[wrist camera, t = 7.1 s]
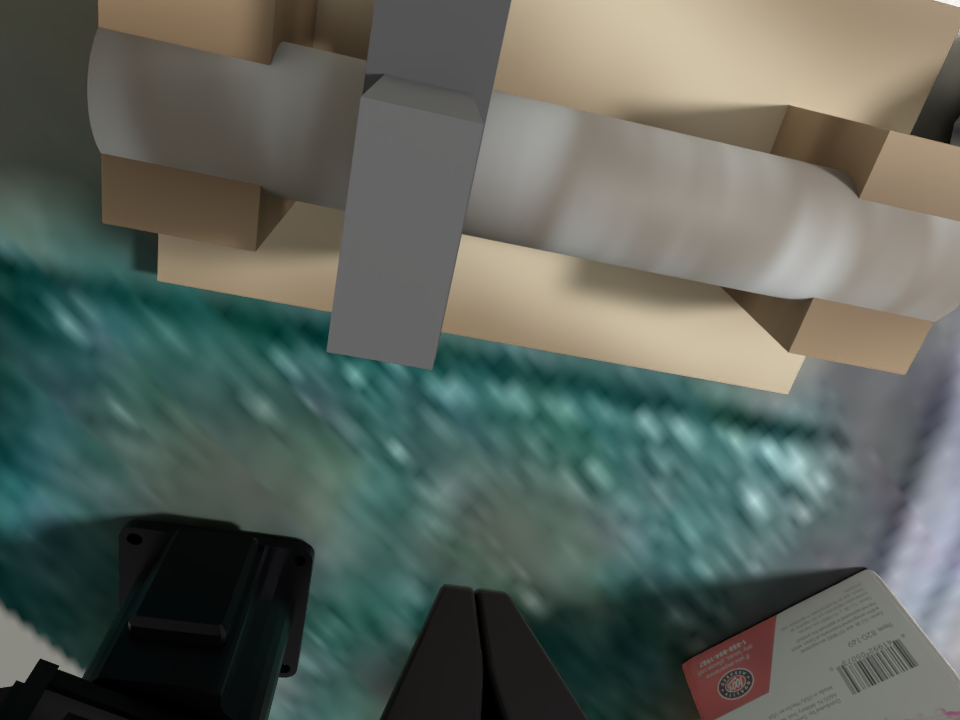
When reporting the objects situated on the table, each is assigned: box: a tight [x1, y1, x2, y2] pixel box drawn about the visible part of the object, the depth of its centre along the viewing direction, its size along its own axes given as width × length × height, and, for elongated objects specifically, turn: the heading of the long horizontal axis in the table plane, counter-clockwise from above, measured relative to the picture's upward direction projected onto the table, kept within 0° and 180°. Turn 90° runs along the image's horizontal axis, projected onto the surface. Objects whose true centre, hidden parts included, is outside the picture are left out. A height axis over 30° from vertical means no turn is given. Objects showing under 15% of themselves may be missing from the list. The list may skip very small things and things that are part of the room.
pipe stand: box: [87, 0, 960, 394], centre depth 16 cm, size 11×19×6 cm, turn 78°
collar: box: [326, 0, 511, 370], centre depth 13 cm, size 6×2×10 cm, turn 167°
